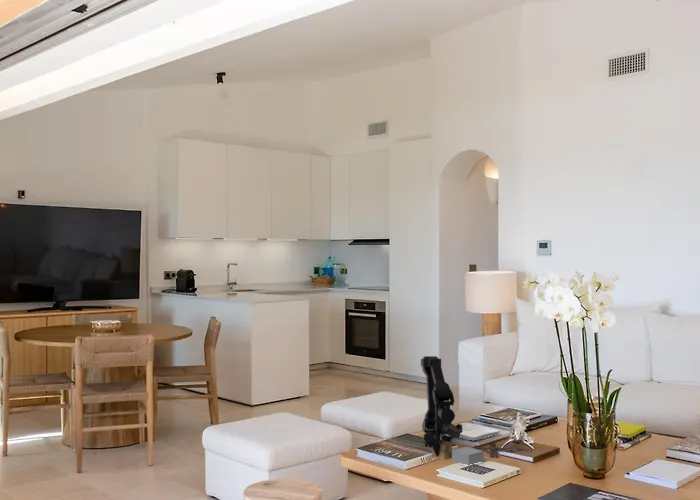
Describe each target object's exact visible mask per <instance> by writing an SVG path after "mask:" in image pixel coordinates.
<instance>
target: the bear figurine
mask: <svg viewBox="0 0 700 500" xmlns="http://www.w3.org/2000/svg"><path fill="white" fill-rule="evenodd" d="M471 448H474V449H478V450H483V451H484V450H487V451H489V457H490V458H495V459H498V458H499V452H498V451H503V450H506V449H512V447H509V448H505V447H502V448H500V447H498V446H497V445H496V443H495V442H494V441H492V442H490V443H489V445H488V446H487V447H484V446H483V447H482V446H478V445H474V446H472V447H471Z"/></svg>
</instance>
